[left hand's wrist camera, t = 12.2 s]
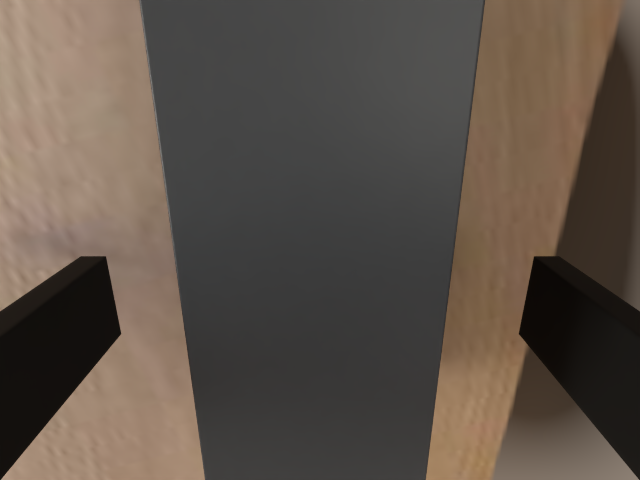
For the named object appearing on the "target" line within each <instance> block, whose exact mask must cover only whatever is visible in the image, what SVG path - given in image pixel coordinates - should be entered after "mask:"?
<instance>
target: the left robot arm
mask: <svg viewBox="0 0 640 480" xmlns="http://www.w3.org/2000/svg"><path fill="white" fill-rule="evenodd" d="M120 335H121V331H120V326H119V320H118V315H117V310H116V305H115V300H114V295H113V290H112V285H111V280H110V275H109V270H108V265H107V260H106V256H81V257H79V258H78V259H76V260H75V261H73V262H72V263H71V264H69V265H68V266H66V267H65V268H63V269H62V270H60V271H59V272H57V273H56V274H54V275H53V276H52V277H50V278H49V279H47V280H46V281H44V282H43V283H41V284H40V285H38V286H37V287H35V288H34V289H32V290H31V291H30V292H28V293H27V294H25V295H24V296H22V297H21V298H19V299H18V300H16V301H15V302H13V303H12V304H11V305H9V306H8V307H6V308H5V309H3V310H2V311H0V480H1V479H2V477H3V476H4V475H5V474H6V473H7V471H8V470H9V469H10V468H11V467H12V465H13V464H14V463H15V462H16V461H17V459H18V458H19V457H20V456H21V454H22V453H23V452H24V451H25V450H26V448H27V447H28V446H29V445H30V444H31V442H32V441H33V440H34V439H35V438H36V436H37V435H38V434H39V433H40V431H41V430H42V429H43V428H44V427H45V425H46V424H47V423H48V422H49V421H50V419H51V418H52V417H53V416H54V415H55V413H56V412H57V411H58V410H59V408H60V407H61V406H62V405H63V404H64V402H65V401H66V400H67V399H68V398H69V396H70V395H71V394H72V393H73V392H74V390H75V389H76V388H77V387H78V385H79V384H80V383H81V382H82V381H83V379H84V378H85V377H86V376H87V375H88V373H89V372H90V371H91V370H92V369H93V367H94V366H95V365H96V364H97V362H98V361H99V360H100V359H101V358H102V356H103V355H104V354H105V353H106V352H107V350H108V349H109V348H110V347H111V346H112V344H113V343H114V342H115V341H116V339H117V338H118V337H119V336H120ZM519 335H520V336H521V337H522V338H523V339H524V341H525V342H526V343H527V344H528V346H529V347H530V348H531V349H532V350H533V352H534V353H535V354H536V355H537V356H538V358H539V359H540V360H541V361H542V362H543V364H544V365H545V366H546V367H547V369H548V370H549V371H550V372H551V373H552V375H553V376H554V377H555V378H556V379H557V381H558V382H559V383H560V384H561V385H562V387H563V388H564V389H565V390H566V392H567V393H568V394H569V395H570V396H571V398H572V399H573V400H574V401H575V402H576V404H577V405H578V406H579V407H580V408H581V410H582V411H583V412H584V413H585V414H586V416H587V417H588V418H589V419H590V421H591V422H592V423H593V424H594V425H595V427H596V428H597V429H598V430H599V431H600V433H601V434H602V435H603V436H604V438H605V439H606V440H607V441H608V442H609V444H610V445H611V446H612V447H613V448H614V450H615V451H616V452H617V453H618V454H619V456H620V457H621V458H622V459H623V461H624V462H625V463H626V464H627V465H628V467H629V468H630V469H631V470H632V471H633V473H634V474H635V475H636V476H637V477H638V479H639V480H640V311H638V310H637V309H635V308H634V307H632V306H631V305H629V304H628V303H627V302H625V301H624V300H622V299H621V298H619V297H618V296H616V295H615V294H613V293H612V292H610V291H609V290H607V289H606V288H605V287H603V286H602V285H600V284H599V283H597V282H596V281H594V280H593V279H591V278H590V277H588V276H587V275H585V274H584V273H583V272H581V271H580V270H578V269H577V268H575V267H574V266H572V265H571V264H569V263H568V262H566V261H565V260H563V259H562V258H561V257H559V256H534V260H533V265H532V270H531V275H530V280H529V285H528V290H527V295H526V300H525V305H524V310H523V315H522V320H521V325H520V331H519Z"/></svg>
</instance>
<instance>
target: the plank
mask: <svg viewBox="0 0 640 480" xmlns="http://www.w3.org/2000/svg"><path fill="white" fill-rule="evenodd" d="M139 1H140V9H141V16H142V23H143V30H144V38H145V45H146V52H147V60H148V67H149V74H150V81H151V89H152V96H153V103H154V111H155V118H156V125H157V132H158V140H159V147H160V154H161V161H162V169H163V176H164V183H165V191H166V198H167V205H168V212H169V220H170V227H171V234H172V242H173V249H174V256H175V263H176V271H177V278H178V285H179V293H180V300H181V307H182V314H183V322H184V329H185V336H186V343H187V351H188V358H189V365H190V373H191V380H192V387H193V394H194V402H195V409H196V416H197V424H198V431H199V438H200V445H201V453H202V460H203V467H204V475H205V480H426V473H427V465H428V457H429V448H430V440H431V432H432V424H433V416H434V408H435V400H436V392H437V384H438V376H439V368H440V360H441V352H442V344H443V335H444V327H445V319H446V311H447V303H448V295H449V287H450V279H451V271H452V263H453V255H454V247H455V239H456V231H457V222H458V214H459V206H460V198H461V190H462V182H463V174H464V166H465V158H466V150H467V142H468V134H469V126H470V118H471V109H472V101H473V93H474V85H475V77H476V69H477V61H478V53H479V45H480V37H481V29H482V21H483V13H484V5H485V0H139Z"/></svg>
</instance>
